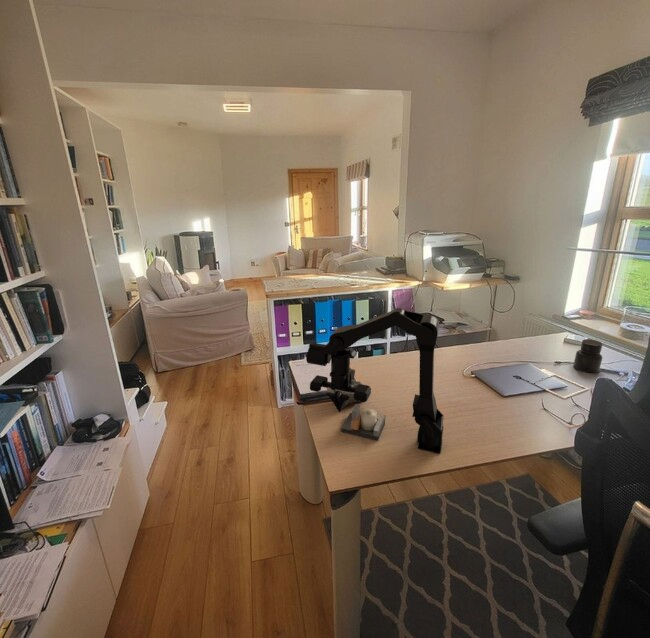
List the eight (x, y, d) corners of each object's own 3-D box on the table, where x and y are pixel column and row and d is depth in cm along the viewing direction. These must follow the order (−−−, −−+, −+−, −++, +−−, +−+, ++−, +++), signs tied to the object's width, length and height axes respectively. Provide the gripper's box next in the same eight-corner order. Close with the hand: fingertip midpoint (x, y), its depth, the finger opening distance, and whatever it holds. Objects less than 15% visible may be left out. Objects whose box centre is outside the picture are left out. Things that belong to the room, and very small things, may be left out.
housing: (378, 422, 114) (378, 408, 112) (374, 431, 109) (374, 417, 107) (363, 419, 115) (363, 405, 114) (358, 428, 111) (359, 414, 109)
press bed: (384, 424, 115) (385, 415, 114) (377, 440, 107) (378, 431, 106) (350, 416, 119) (350, 407, 118) (341, 431, 112) (341, 422, 111)
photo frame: (543, 368, 148) (589, 388, 132) (542, 370, 148) (588, 390, 133) (519, 376, 142) (564, 397, 126) (519, 378, 142) (563, 400, 127)
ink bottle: (589, 363, 153) (595, 337, 149) (605, 373, 144) (612, 346, 140) (567, 364, 152) (573, 338, 148) (582, 373, 144) (588, 347, 140)
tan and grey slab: (364, 416, 117) (364, 399, 114) (357, 430, 110) (357, 413, 108) (358, 414, 117) (359, 398, 115) (351, 428, 110) (351, 411, 108)
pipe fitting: (340, 412, 121) (342, 384, 119) (329, 402, 128) (331, 376, 126) (369, 406, 126) (371, 380, 124) (357, 397, 133) (359, 372, 131)
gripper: (376, 362, 111) (374, 404, 117) (322, 352, 118) (322, 392, 123) (366, 378, 102) (364, 423, 107) (308, 366, 108) (309, 409, 114)
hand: (339, 411), depth 113 cm, fingers closed
